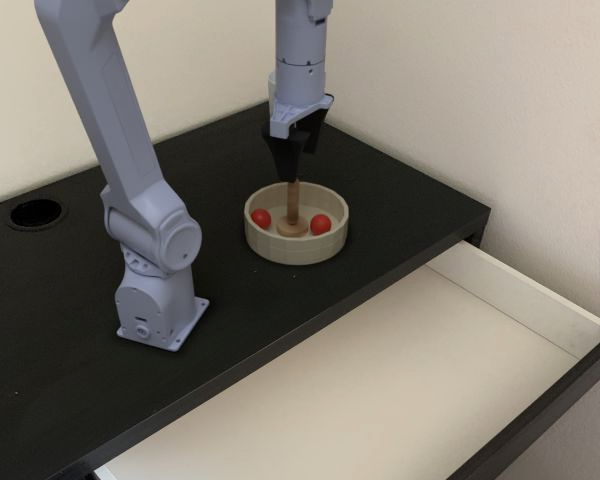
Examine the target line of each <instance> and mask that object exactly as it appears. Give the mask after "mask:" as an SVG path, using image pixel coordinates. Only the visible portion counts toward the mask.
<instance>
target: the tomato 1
mask: <svg viewBox="0 0 600 480" xmlns="http://www.w3.org/2000/svg"><path fill="white" fill-rule="evenodd" d="M250 217H251V219H252V221H253V222H254V223H255V224H256V225H257V226H259V227H260V228H261V229H263V230H266V229H267V228H268V227H269V226H270V224H271V216H270V214H269V212H268V211H266V210H265V209H256V210H254V211H253V212H252V213H251V215H250Z"/></svg>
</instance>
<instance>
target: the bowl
mask: <svg viewBox="0 0 600 480" xmlns="http://www.w3.org/2000/svg"><path fill="white" fill-rule="evenodd" d="M287 183H288V182H284V181H282V182H277V183H273V184H270V185H266V186H264V187H261V188H260V189H258V190H256V191H255V192H254V193H252V194H251V195H250V196H249V197H248V199H247V200H246V201H245V203H244V210H243V220H244V235H245V240H246V242H247V244H248V246H249V247H250V248H251V250H252V251H253V252H255V253H256V254H257V255H259V256H260V257H261V258H264V259H266V260H269V261H271V262H274V263H277V264H282V265H289V266H306V265H312V264H317V263H321V262H324V261H326V260H328V259H331V258H332V257H334V256H336V254H339V252H340V251H341V250H342V249H343V247H344V246H345V243H346V241H347V237H348V229H349V228H348V226H349V216H350V215H349V213H350V212H349V206H348V204H347V202H346V201H345V199H344V197H342V196H341V195H340V194H338V193H337V192H336V191H335V190H333V189H330V188H328V187H326V186H323V185H321V184H317V183H312V182H308V181H299V183H300V184H299V216H301V217H303V218H305V219H306V220H307V221H308V232H307V234H306V235H304V236H303V237H300V238H291V237H284V236H281V235H280V234H279V233H278V231H277V222H278V220H279V219H280V218H281V217H283V216H286V215H287ZM256 209H265V210H266V211H268V212H269V214H270V216H271V224H270V226H269V227H268V228H267V229H266V230H263V229H261V228H260V227H259V226H257V225H256V224H255V223H254V222H253V221H252V219H251V217H250V215H251V213H252V212H253V211H254V210H256ZM317 214H324V215H326V216H328V217H329V219H330V220H331V224H332V226H331V230H330V231H329V232H326V233H324V234H321V235H318V236H317V235H315V234H313V233H312V231H311V229H310V221H311V219H312V218H313V217H314V216H315V215H317Z"/></svg>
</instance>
